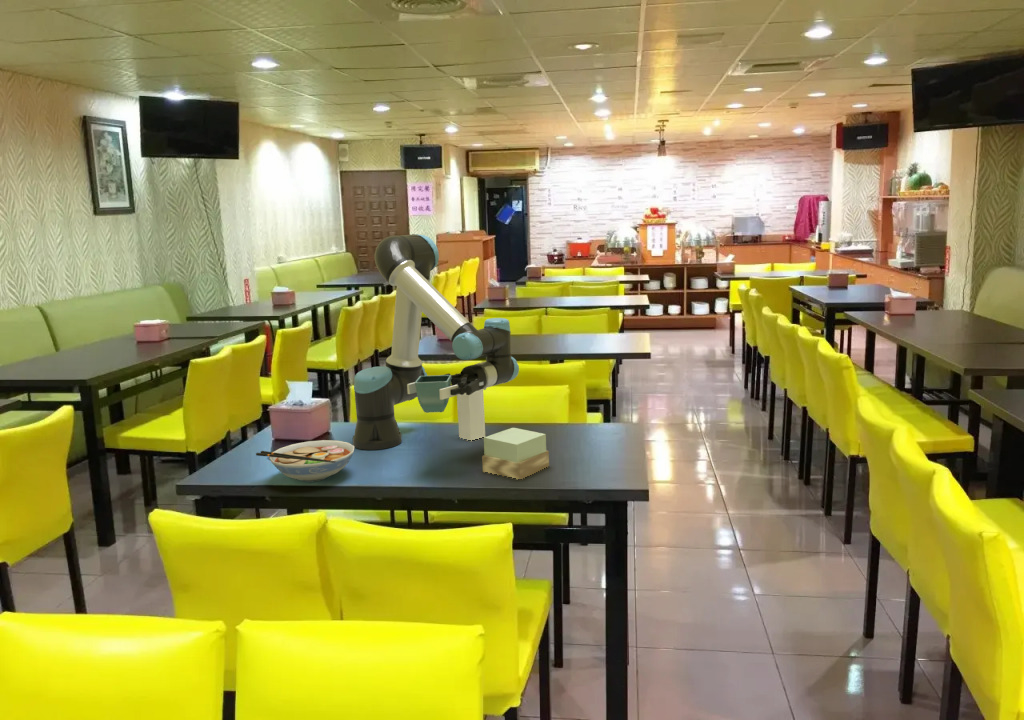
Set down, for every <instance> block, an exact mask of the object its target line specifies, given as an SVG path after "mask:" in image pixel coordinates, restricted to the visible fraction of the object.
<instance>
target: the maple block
mask: <svg viewBox="0 0 1024 720" xmlns="http://www.w3.org/2000/svg"><path fill="white" fill-rule="evenodd" d="M549 453H550V451H549V450H547V449H546V452H544V453H542V454H539V455H537V456H534V457H531V458H529V459H526V460H524V461H521V462H519V463H516V462H511V461H507V460H503V459H499V458H494V457H490V456H486V455H482V456H481V459H482V460H481V461H482V462H481V464H482V473H485V472H488V473H487V474H490V473H492V475H494V474H497V475H496V476H499V475H502V476H501V477H504V476H507V477H506V478H508V477H512V478H511V479H513V478H516V479H515V480H518V479H522V480H524V479H526V478H525V477H527V476H529V477H531V476H533V475H535V474H537V473H539V472H541V471H543V470H545V469H547V468H549V467H550V458H549V457H550V454H549ZM548 466H549V467H548ZM546 467H547V468H546ZM544 468H545V469H544ZM542 469H543V470H542ZM540 470H541V471H540ZM538 471H539V472H538ZM536 472H537V473H536ZM534 473H535V474H534ZM532 474H533V475H532ZM530 475H531V476H530ZM523 478H524V479H523ZM527 478H528V477H527Z"/></svg>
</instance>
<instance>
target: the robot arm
mask: <svg viewBox="0 0 1024 720" xmlns="http://www.w3.org/2000/svg"><path fill="white" fill-rule="evenodd" d="M439 259H440V254H439V248H438V246H437V245H436V243H435V242H434V240H433V239H432V238H430V236H428V235H425V234H415V233H413V234H405V235H404V234H402V235H389V236H386V237H385V238H383V239H382V240H381V241H380V242H379V243H378V245H377V246H376V248H375V251H374V263H375V266H376V268H377V270H378V272H379V273H380V275H381V277H383V279H384V280H385V281H386V282H387V283H388V284H389V285H390V286H392V287H396V291H395V301H394V302H395V304H394V316H393V317H394V318H393V329H392V342H391V354H390V355H389V356H388V357H387V358H386V359H385V366H384V365H383V366H381V365H380V366H373V367H367V368H364V369H362V370H360V371H358V372H357V373H356V374H355V375H354V377H353V378H354V379H353V391H354V392H353V393H354V401H355V402H354V403H355V412H356V414H355V415H356V424H355V429H354V433H353V434H354V435H353V436H352V445H353V446H355V447H354V449H355V448H356V449H359V450H366V451H371V450H372V451H374V450H384V449H389V448H394V447H396V446H398V445H400V444H401V443H402V442H403V441H402V440H403V439H402V433H401V432H402V431H400V428H399V425H398V423H397V420H396V417H395V406H396V405H399V404H401V403H404V402H408V401H412V400H414V399H416V398H418V397H417V392H416V386H415V382H416V380H417V379H418V378H419V377H420V376H428V374H427V372H426V369H425V367H424V366H423V361H422V359H420V357H419V350H420V349H419V348H420V340H421V338H420V337H421V329H422V328H421V325H422V316H423V315H422V314H424V315H425V316H426V317H427V318H428V319H429V320H430V321H431V322H432V323H433V324H434V325H435V326H436V327H437V328H438V329H439V331H441V332H442V333H443V334H444V336H446V337H447V338H448V340H450V341H451V342H452V345H451V346H452V351H453V354H454V355H455V356H456V357H457V358H458V359H460V360H462V361H470V360H475V359H478V358H479V357H483V356H485V361H482V362H478V363H477V362H476V363H475V364H471V365H468V366H464V367H463V368H462V369H461V371H460V373H459V372H458V373H455V374H451V373H445V374H444V375H451V386H450V387H446V388H443V389H439V391H440V400H443V399H446V398H449V399H450V398H452V397H457V395H459V394H461V395H463V394H464V393H466V395H471V394H472V393H474V392H475V391H478V390H481V389H483V391H485V390H487V388H491V387H494V386H497V385H502V384H506V383H508V382H511V381H513V380H515V378H517V377H518V375H519V371H520V368H519V364H518V360H516V359H515V358H514V357H513V356H512V348H511V347H512V344H511V343H512V341H511V333H512V332H511V326H510V321H509V319H507V318H503V317H492V318H487V319H485V320H484V326H483V328H481V329H477V328H476V327H475V326H474V325H473V324H472V323H471V322H470V321H469V320H468V319H467V318H466V317H465V316H464V315H463V314H462V313H461V312H460V311H459V310H458V309H457V308H456V307H455V306H454V305H453V304H452V303H451V302H450V301H449V300H448V299H447V298H446V297H445V296H444V295H443V294H442V293H441V291H440V292H439V291H438V289H437V288H436V287H435V286H434V285H433V284H432V283H431V282H430V279H431V271H433V270H434V269H435V267H437V265H438V263H439Z"/></svg>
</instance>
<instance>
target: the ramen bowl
mask: <svg viewBox="0 0 1024 720" xmlns="http://www.w3.org/2000/svg"><path fill="white" fill-rule="evenodd" d="M354 451H355V446H353V443H352V444H351V443H350V442H346V441H342V440H334V439H333V440H331V439H329V440H328V439H327V440H326V439H322V440H308V441H304V442H303V441H302V442H298V443H293V444H289V445H286V446H284V447H280V448H278V449H276V450H274V451H266V450H260V452H256V453H255V456H256V457H257V456H259V457H268V459H269V461H270V462H271V464H273V466H274V467H275V469H277V470H278V472H280V473H281V474H283V475H284V476H285V477H288V478H291V479H294V480H299V481H302V482H306V481H307V482H309V483H310V482H312V481H314V482H319V481H323V480H326V479H327V478H329V477H331V476H333V475H335V474H337V473H338V472H340V471H341V470H343V469H344V468H345V467H346V466H347V465H348V463H349V462H350V460H351V458H352V457H353V454H354ZM312 483H313V482H312Z"/></svg>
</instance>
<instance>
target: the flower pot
mask: <svg viewBox="0 0 1024 720" xmlns="http://www.w3.org/2000/svg"><path fill="white" fill-rule="evenodd" d="M451 375H452V374H450V375H445V374H440V375H439V374H438V375H427V376H420V377H419V378H418V379H417V380H416V382H415V386H416V392H417V397H416V398H417V401H418V403H419V405H420V408H421V409H422V411H423V412H424V413H443V412H445V410H446V407H447V405H448V403H449V400H450V398H446V399H443V400H440V391H439V389H443V388H446V387H450V386H451Z"/></svg>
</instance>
